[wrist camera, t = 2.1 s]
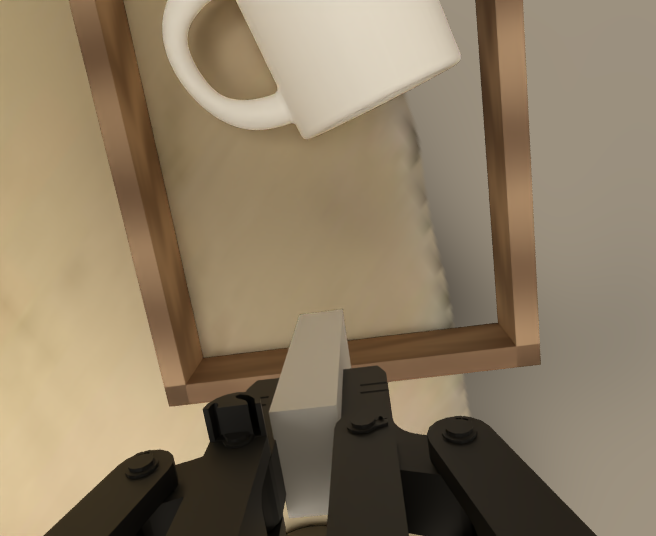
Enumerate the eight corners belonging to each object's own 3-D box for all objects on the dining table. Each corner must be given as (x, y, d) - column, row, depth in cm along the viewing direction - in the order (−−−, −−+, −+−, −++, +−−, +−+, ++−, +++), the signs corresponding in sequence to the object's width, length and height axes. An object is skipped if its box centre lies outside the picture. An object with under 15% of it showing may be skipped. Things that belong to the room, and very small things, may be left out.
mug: (365, -123, 25) (372, -238, 17) (445, 72, 27) (483, 47, 19) (157, -2, 27) (78, -57, 19) (247, 172, 29) (208, 186, 21)
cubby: (89, -47, 26) (50, -74, 23) (492, -123, 25) (514, -163, 21) (188, 378, 32) (169, 406, 29) (519, 339, 30) (540, 364, 27)
